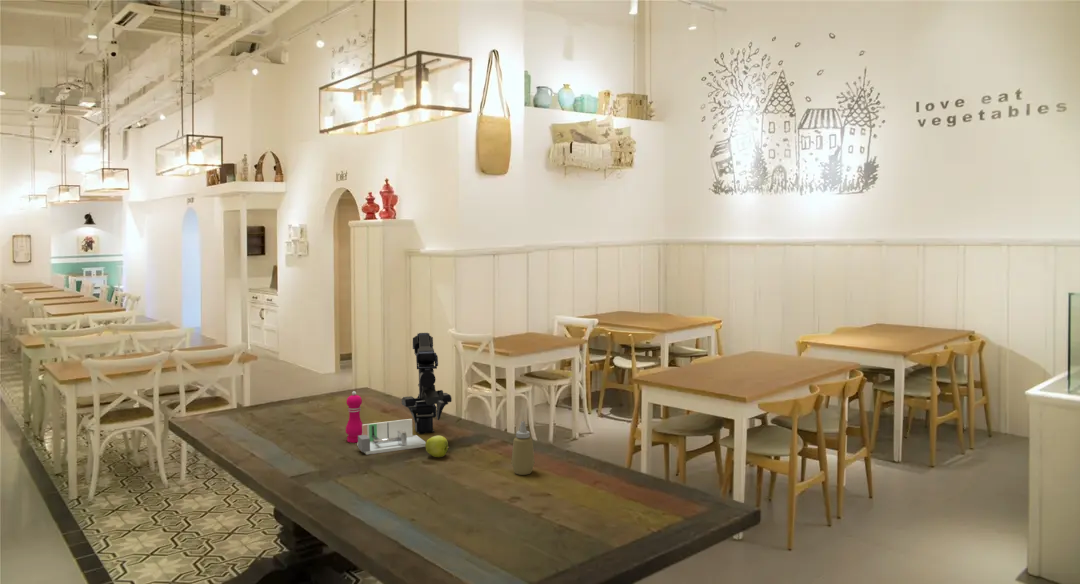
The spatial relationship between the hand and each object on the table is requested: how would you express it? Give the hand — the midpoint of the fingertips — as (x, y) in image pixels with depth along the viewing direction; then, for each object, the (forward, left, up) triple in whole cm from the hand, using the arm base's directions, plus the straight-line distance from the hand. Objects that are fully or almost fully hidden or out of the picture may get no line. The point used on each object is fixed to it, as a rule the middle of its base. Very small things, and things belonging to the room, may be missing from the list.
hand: (427, 421), depth 302 cm
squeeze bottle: (-18, +49, -9) cm, 53 cm away
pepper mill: (+24, -18, -9) cm, 32 cm away
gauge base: (+14, -4, -9) cm, 17 cm away
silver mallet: (+15, -3, -8) cm, 17 cm away
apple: (+2, +18, -9) cm, 20 cm away
